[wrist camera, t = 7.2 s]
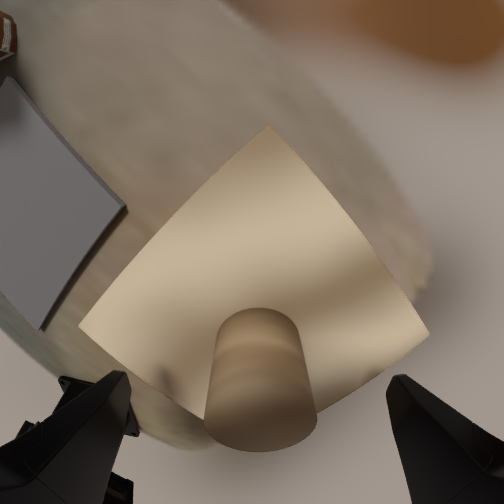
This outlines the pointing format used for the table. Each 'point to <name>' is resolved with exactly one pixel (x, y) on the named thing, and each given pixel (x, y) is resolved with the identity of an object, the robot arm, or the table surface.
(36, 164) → the mat
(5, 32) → the food container
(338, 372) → the lid
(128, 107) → the table surface
